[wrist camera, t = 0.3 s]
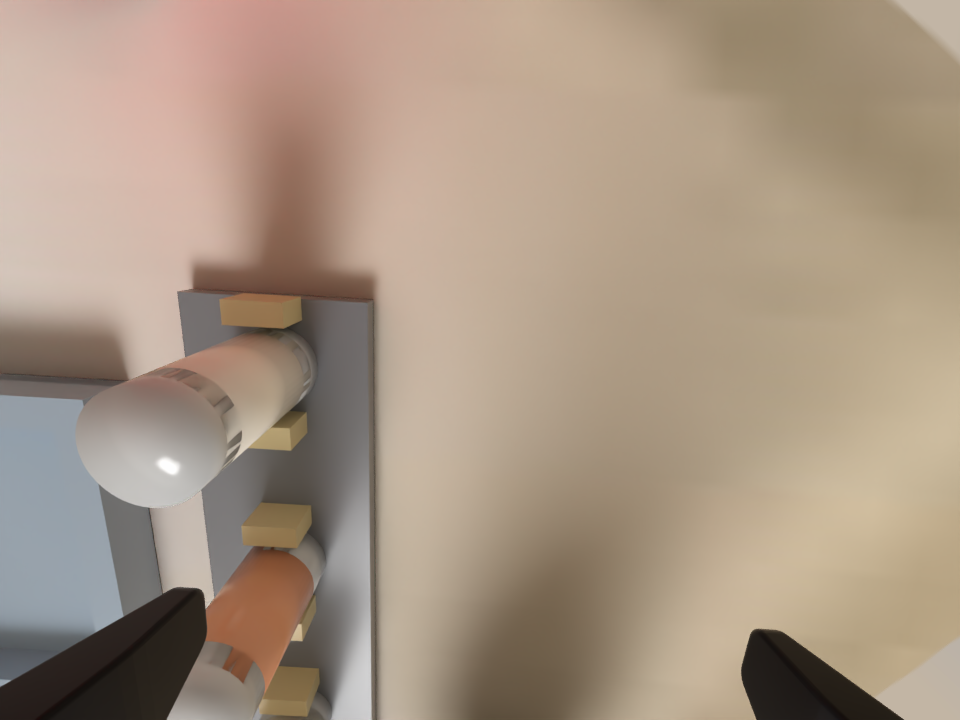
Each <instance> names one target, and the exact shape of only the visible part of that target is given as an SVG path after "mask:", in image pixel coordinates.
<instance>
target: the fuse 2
mask: <svg viewBox="0 0 960 720" xmlns="http://www.w3.org/2000/svg"><path fill="white" fill-rule="evenodd" d="M331 717H332V709H331V706H330V704H329V702H328V701H327V699H326V698H325V697H324V696H323V695H321V694H320V693H319V692H316V694H315V697H314V700H313V702H312V705H311V708H310V710H309V713H308V716H307V717H301V716H284V715H267V714H262V715H261V717H260V720H331Z"/></svg>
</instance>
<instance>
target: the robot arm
mask: <svg viewBox="0 0 960 720" xmlns="http://www.w3.org/2000/svg"><path fill="white" fill-rule="evenodd" d="M206 636H207V618H206V608H205V598H204V593H203V592H202V590H200V589H197V588H184V587H177V588H173V589H171V590H169V591H167V592H165V593H164V594H162V595H160V596H158V597H157V598H155V599H153V600H151V601H150V602H148V603H146V604H144V605H143V606H141V607H139V608H137V609H136V610H134V611H132V612H130V613H129V614H127V615H125V616H123V617H122V618H120V619H118V620H116V621H115V622H113V623H111V624H109V625H108V626H106V627H104V628H102V629H101V630H99V631H97V632H95V633H94V634H92V635H90V636H88V637H86V638H85V639H83V640H81V641H79V642H78V643H76V644H74V645H72V646H71V647H69V648H67V649H65V650H64V651H62V652H60V653H58V654H57V655H55V656H53V657H51V658H50V659H48V660H46V661H44V662H43V663H41V664H39V665H37V666H36V667H34V668H32V669H30V670H29V671H27V672H25V673H23V674H22V675H20V676H18V677H16V678H15V679H13V680H11V681H9V682H8V683H6V684H4V685H2V686H1V687H0V720H167V718H168V716H169V714H170V712H171V710H172V708H173V706H174V704H175V702H176V700H177V698H178V696H179V694H180V692H181V690H182V688H183V686H184V684H185V682H186V680H187V678H188V676H189V674H190V672H191V670H192V668H193V666H194V664H195V662H196V660H197V658H198V656H199V654H200V652H201V650H202V648H203V646H204V643H205V640H206ZM741 676H742V681H743V685H744V688H745V691H746V693H747V696H748V698H749V701H750V704H751V706H752V709H753V712H754V714H755V717H756V719H757V720H904V719H902V718H901V717H900V716H898V715H897V714H896V713H894V712H893V711H891V710H890V709H888V708H887V707H886V706H884V705H883V704H882V703H880V702H879V701H877V700H876V699H875V698H873V697H872V696H871V695H869V694H868V693H867V692H865V691H864V690H862V689H861V688H860V687H858V686H857V685H855V684H854V683H853V682H851V681H850V680H849V679H847V678H846V677H844V676H843V675H842V674H840V673H839V672H838V671H836V670H835V669H833V668H832V667H831V666H829V665H828V664H826V663H825V662H824V661H822V660H821V659H820V658H818V657H817V656H815V655H814V654H813V653H811V652H810V651H808V650H807V649H806V648H804V647H803V646H802V645H800V644H799V643H797V642H796V641H795V640H793V639H792V638H791V637H789V636H788V635H786V634H785V633H783V632H781V631H778V630H769V629H755V630H753V631H752V632H751V634H750V637H749V641H748V645H747V648H746V652H745V656H744V659H743V663H742V667H741Z"/></svg>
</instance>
